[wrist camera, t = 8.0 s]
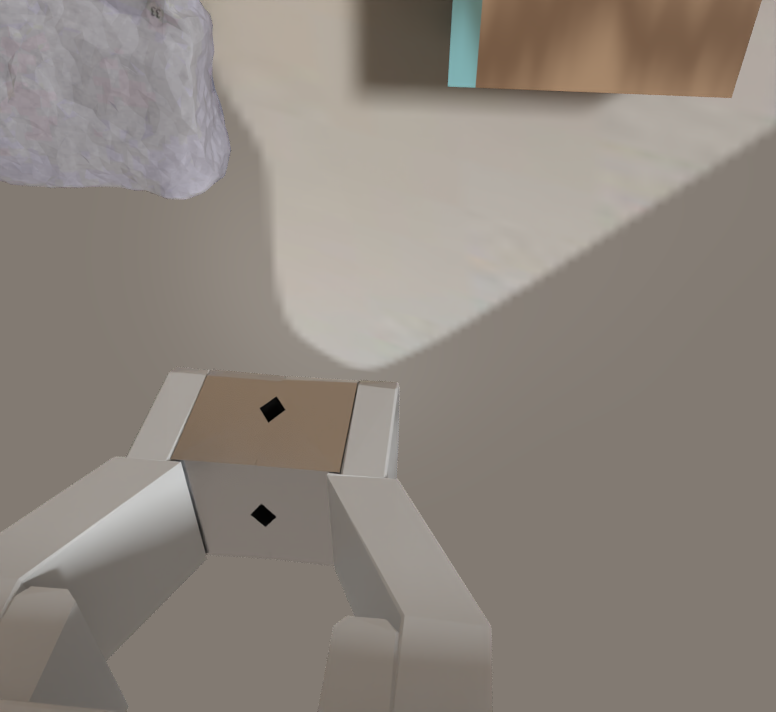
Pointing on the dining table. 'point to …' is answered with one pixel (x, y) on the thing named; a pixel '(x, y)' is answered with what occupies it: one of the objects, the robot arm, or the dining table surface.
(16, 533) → the robot arm
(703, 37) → the walnut block
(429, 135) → the dining table surface
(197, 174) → the stone block
